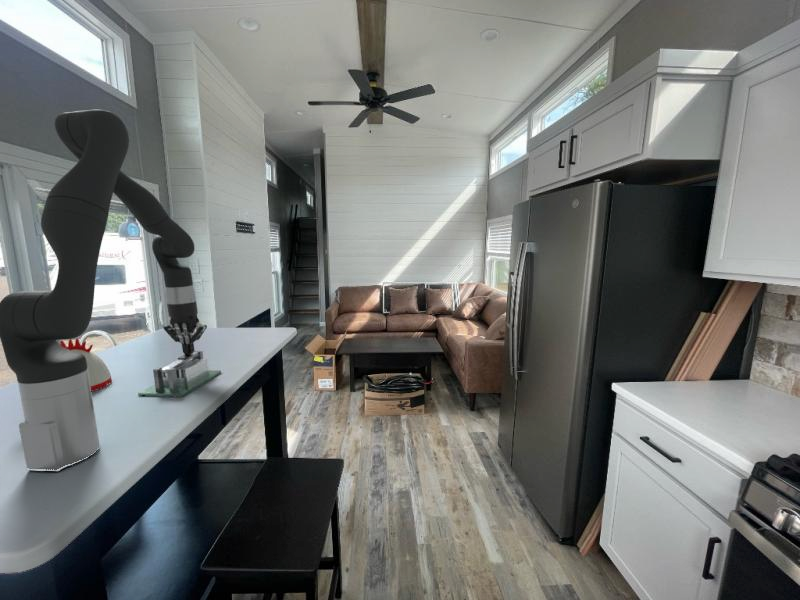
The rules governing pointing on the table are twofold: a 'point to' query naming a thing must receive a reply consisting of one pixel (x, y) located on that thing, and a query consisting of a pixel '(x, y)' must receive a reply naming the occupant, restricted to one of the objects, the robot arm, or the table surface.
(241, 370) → the table surface
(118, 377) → the table surface
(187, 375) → the heatsink
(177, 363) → the silver flat bar
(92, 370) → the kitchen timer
